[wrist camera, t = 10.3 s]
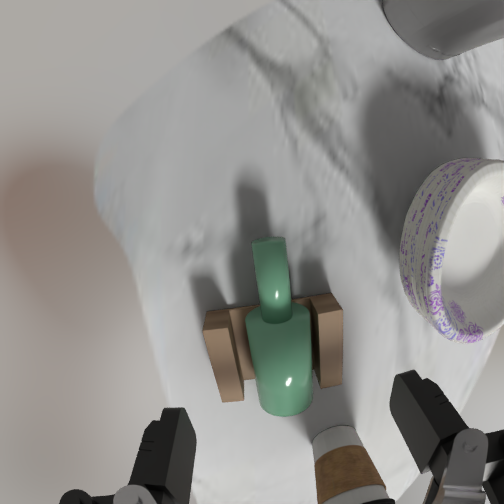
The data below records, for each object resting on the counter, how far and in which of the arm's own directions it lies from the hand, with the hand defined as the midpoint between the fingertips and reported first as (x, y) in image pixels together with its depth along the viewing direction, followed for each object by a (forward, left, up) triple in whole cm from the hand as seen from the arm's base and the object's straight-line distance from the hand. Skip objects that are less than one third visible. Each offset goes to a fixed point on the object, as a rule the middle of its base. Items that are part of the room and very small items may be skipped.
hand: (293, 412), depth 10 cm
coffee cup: (+24, +6, -16) cm, 30 cm away
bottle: (+12, 0, -13) cm, 17 cm away
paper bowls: (-1, +18, -16) cm, 24 cm away
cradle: (+7, 0, -16) cm, 17 cm away
